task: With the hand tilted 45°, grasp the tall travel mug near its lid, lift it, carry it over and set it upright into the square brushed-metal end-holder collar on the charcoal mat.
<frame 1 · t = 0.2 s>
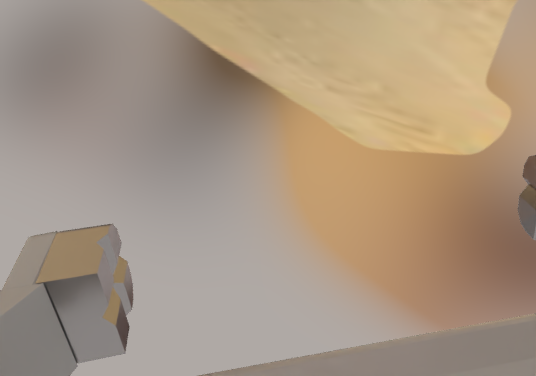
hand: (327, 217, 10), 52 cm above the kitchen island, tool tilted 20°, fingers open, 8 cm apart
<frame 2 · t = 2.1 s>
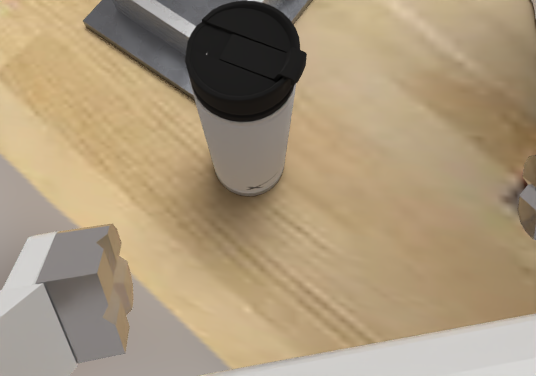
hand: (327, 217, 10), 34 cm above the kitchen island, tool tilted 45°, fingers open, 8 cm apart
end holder: (209, 3, 50), on the kitchen island
travel mug: (251, 164, 46), on the kitchen island
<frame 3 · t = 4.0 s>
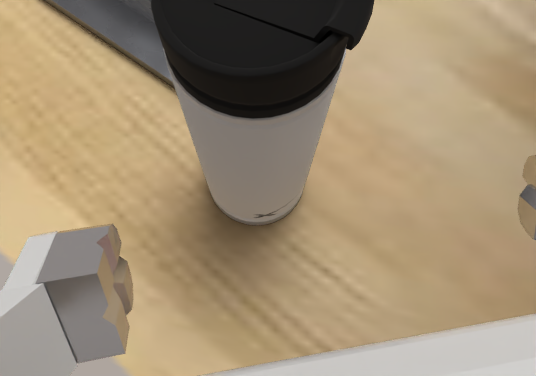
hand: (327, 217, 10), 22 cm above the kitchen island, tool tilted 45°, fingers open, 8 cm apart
travel mug: (259, 181, 34), on the kitchen island
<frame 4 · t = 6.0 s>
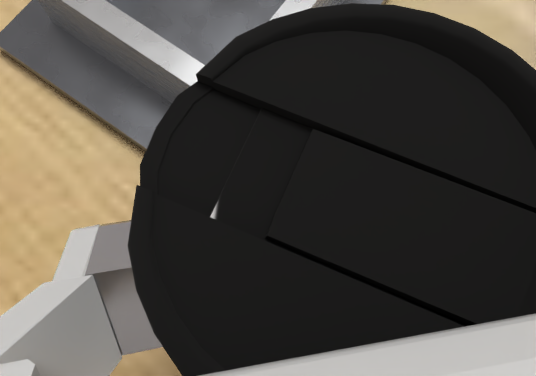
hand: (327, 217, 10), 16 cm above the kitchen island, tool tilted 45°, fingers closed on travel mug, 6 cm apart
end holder: (210, 10, 30), on the kitchen island
travel mug: (287, 300, 25), on the kitchen island, touching gripper
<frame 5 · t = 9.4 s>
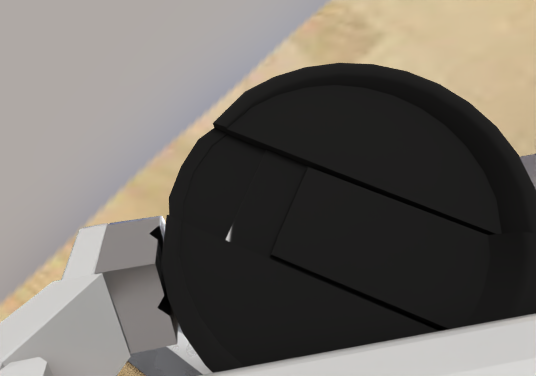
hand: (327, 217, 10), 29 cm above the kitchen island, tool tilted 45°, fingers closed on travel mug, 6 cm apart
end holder: (275, 309, 38), on the kitchen island
travel mug: (297, 306, 27), point 11 cm above the kitchen island, touching gripper
when the fingers open (18 cm above the kitchen island, at t = 12.6 s): travel mug stays where it is, resting on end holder.
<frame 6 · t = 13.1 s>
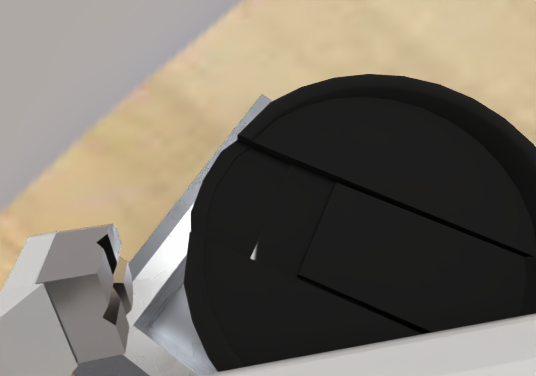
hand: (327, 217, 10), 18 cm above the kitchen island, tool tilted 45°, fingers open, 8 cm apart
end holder: (285, 303, 28), on the kitchen island
travel mug: (295, 309, 27), point 1 cm above the kitchen island, touching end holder
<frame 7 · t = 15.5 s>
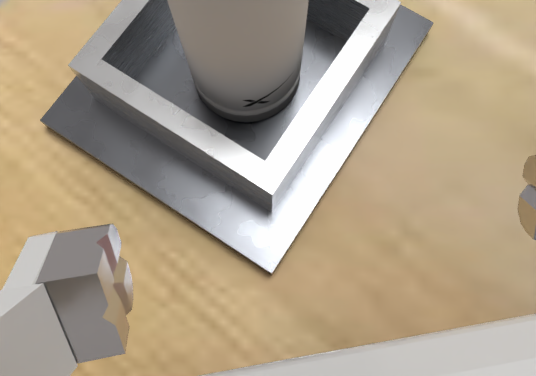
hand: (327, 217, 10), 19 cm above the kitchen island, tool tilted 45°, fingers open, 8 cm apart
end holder: (242, 78, 31), on the kitchen island
travel mug: (249, 76, 30), point 1 cm above the kitchen island, touching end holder
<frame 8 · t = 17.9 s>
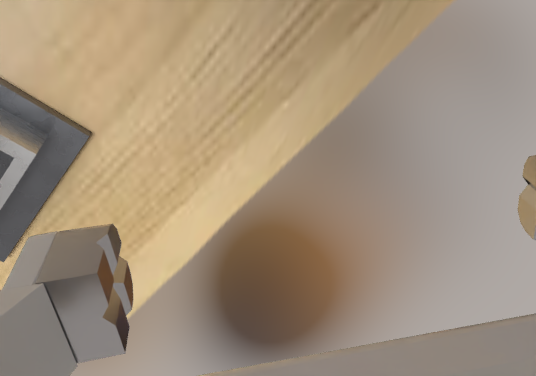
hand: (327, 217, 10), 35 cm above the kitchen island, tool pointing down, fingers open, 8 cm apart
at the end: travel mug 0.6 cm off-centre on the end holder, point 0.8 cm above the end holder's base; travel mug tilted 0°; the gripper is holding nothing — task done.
